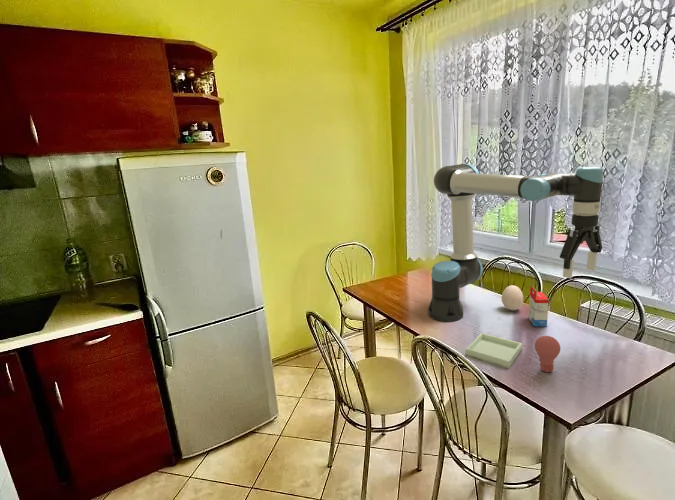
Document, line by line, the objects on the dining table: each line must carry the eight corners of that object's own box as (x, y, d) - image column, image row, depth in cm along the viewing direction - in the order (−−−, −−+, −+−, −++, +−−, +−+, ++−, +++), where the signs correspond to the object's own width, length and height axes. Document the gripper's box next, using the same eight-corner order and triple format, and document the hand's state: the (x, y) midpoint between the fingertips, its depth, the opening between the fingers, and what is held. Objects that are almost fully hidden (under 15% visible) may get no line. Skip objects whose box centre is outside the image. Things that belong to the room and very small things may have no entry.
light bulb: (528, 365, 123) (530, 333, 120) (549, 363, 123) (551, 330, 120) (541, 378, 116) (544, 343, 113) (563, 375, 117) (566, 341, 114)
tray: (465, 355, 132) (465, 348, 131) (481, 338, 142) (481, 332, 142) (508, 368, 122) (509, 361, 122) (521, 349, 133) (522, 343, 132)
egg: (505, 304, 171) (506, 280, 168) (525, 308, 165) (527, 284, 162) (497, 310, 165) (498, 286, 162) (518, 315, 159) (519, 290, 156)
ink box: (547, 327, 148) (549, 292, 144) (533, 326, 149) (536, 292, 145) (540, 317, 156) (542, 285, 152) (527, 317, 157) (529, 284, 153)
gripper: (573, 220, 116) (567, 283, 121) (618, 210, 127) (611, 269, 132) (551, 217, 123) (546, 277, 128) (595, 208, 133) (589, 264, 139)
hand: (579, 273), depth 130 cm, fingers open, 13 cm apart
